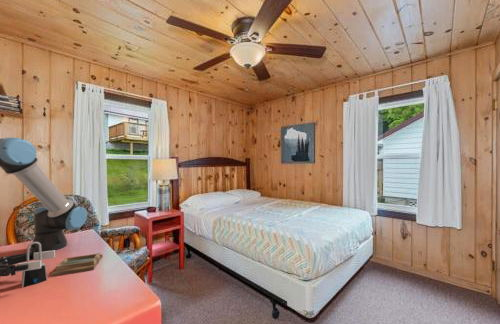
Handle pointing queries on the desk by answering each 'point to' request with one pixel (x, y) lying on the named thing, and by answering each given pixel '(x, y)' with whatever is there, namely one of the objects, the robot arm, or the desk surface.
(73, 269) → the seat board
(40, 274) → the padlock
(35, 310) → the desk surface
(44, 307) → the desk surface
